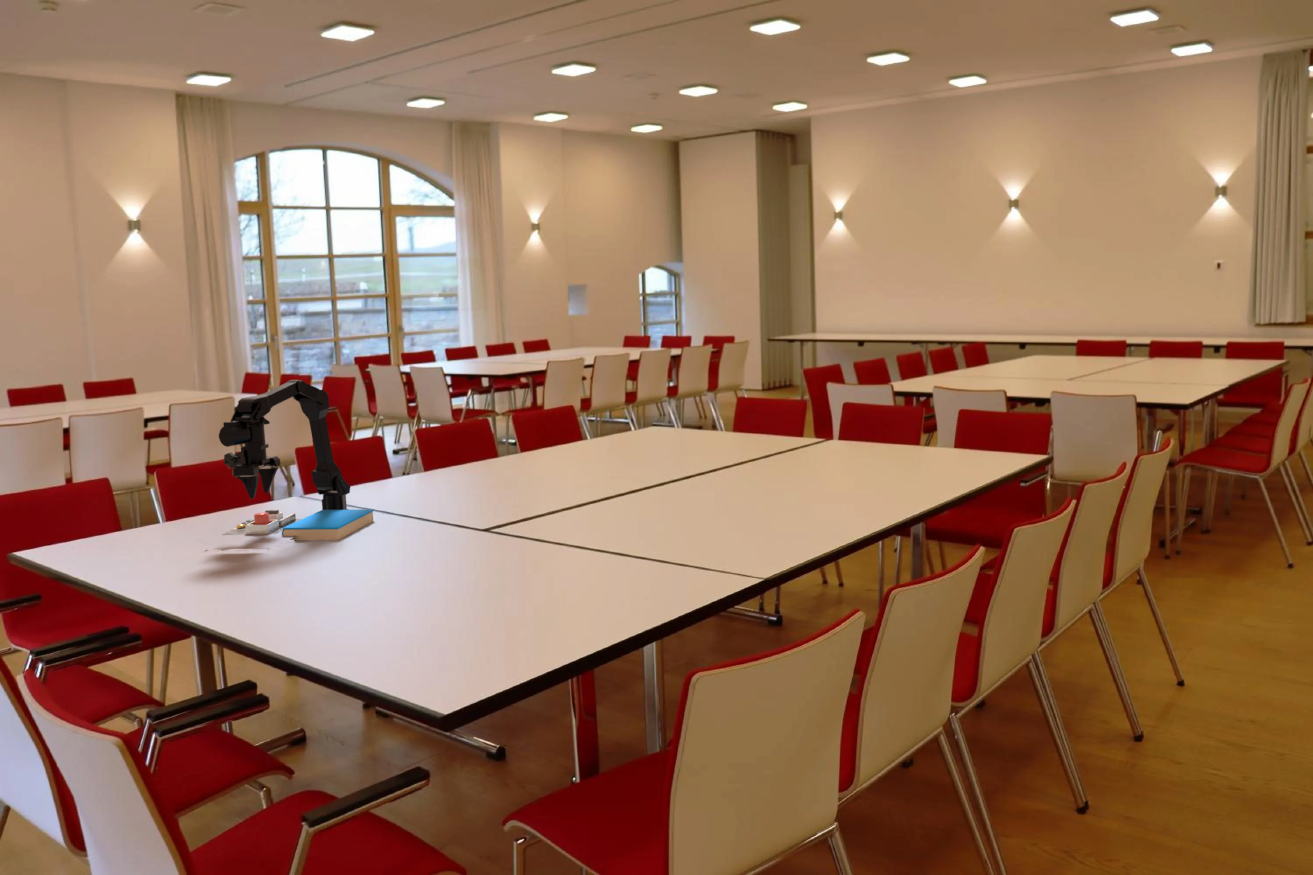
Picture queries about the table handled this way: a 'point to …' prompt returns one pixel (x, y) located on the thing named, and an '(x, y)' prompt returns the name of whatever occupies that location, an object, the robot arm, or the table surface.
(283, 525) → the panel
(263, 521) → the cap
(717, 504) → the table surface
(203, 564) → the table surface
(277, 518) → the breaker
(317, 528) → the book
